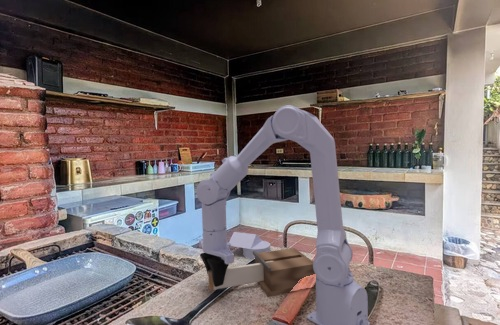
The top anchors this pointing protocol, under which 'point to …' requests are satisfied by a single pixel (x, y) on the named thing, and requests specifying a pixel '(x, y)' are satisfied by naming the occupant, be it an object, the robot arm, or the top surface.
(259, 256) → the dispenser
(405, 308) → the top surface
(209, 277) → the cream wooden plank
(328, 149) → the robot arm
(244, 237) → the wedge on round base
